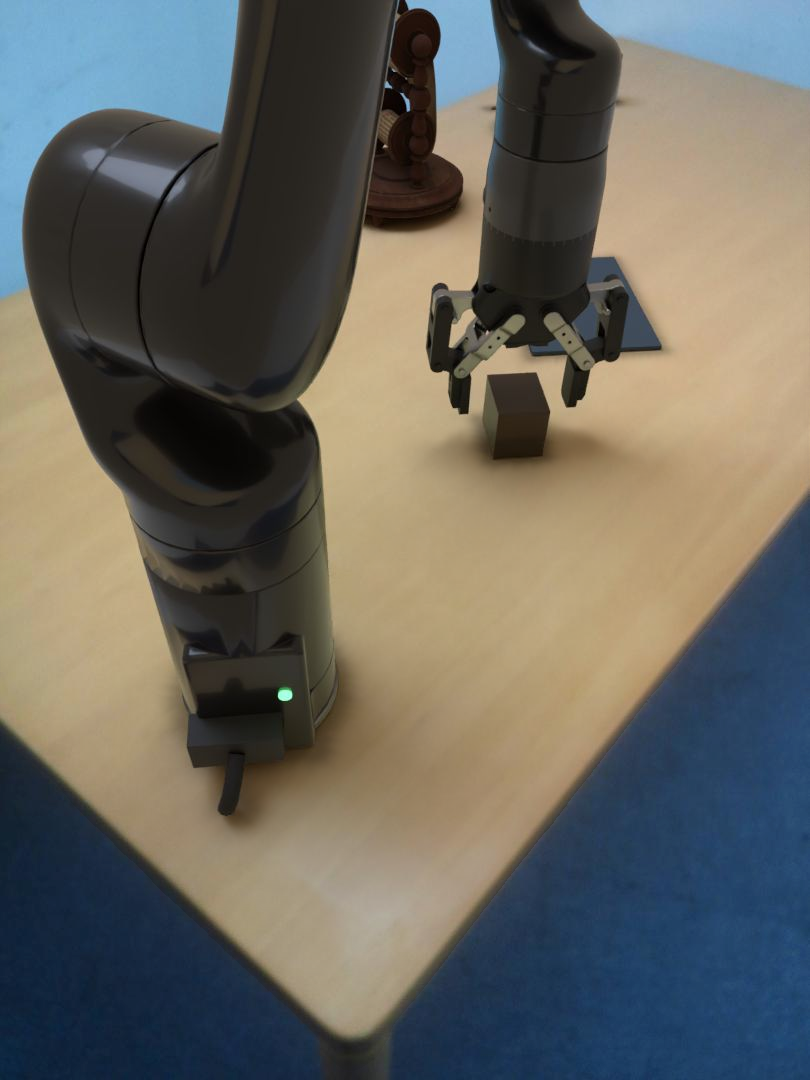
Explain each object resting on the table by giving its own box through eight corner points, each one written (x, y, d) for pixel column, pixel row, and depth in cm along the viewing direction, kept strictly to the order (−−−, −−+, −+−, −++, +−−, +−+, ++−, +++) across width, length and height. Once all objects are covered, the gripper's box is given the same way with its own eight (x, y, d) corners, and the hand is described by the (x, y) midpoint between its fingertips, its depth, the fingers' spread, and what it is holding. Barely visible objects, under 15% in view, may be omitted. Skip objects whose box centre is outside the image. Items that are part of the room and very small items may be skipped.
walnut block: (542, 456, 69) (550, 411, 66) (492, 459, 69) (498, 414, 65) (529, 416, 72) (536, 371, 69) (482, 419, 72) (486, 374, 69)
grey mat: (661, 349, 79) (662, 345, 79) (531, 355, 78) (532, 352, 78) (613, 260, 90) (614, 256, 90) (499, 264, 89) (499, 260, 89)
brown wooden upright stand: (486, 214, 96) (504, 11, 82) (365, 242, 92) (362, 31, 77) (423, 162, 105) (430, -30, 91) (310, 185, 100) (298, -14, 86)
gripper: (441, 242, 53) (432, 442, 65) (665, 231, 55) (616, 429, 67) (425, 186, 58) (419, 381, 70) (631, 177, 60) (591, 370, 72)
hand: (515, 404), depth 69 cm, fingers open, 8 cm apart
